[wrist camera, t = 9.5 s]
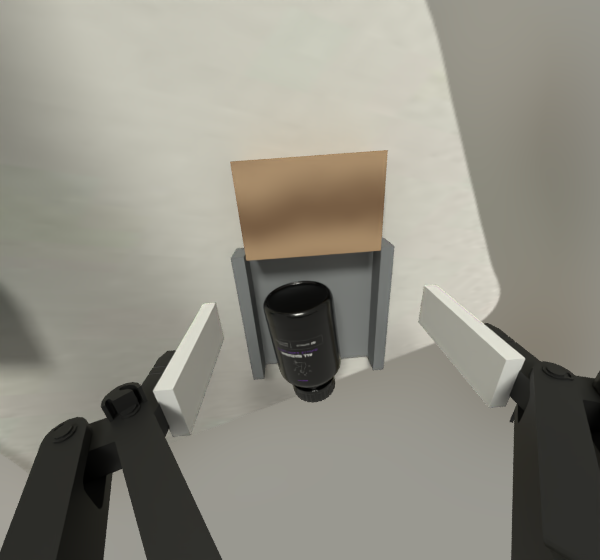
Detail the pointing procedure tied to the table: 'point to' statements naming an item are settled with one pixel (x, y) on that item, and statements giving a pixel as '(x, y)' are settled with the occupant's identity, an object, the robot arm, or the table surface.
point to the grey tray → (346, 293)
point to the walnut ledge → (311, 204)
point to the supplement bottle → (305, 337)
